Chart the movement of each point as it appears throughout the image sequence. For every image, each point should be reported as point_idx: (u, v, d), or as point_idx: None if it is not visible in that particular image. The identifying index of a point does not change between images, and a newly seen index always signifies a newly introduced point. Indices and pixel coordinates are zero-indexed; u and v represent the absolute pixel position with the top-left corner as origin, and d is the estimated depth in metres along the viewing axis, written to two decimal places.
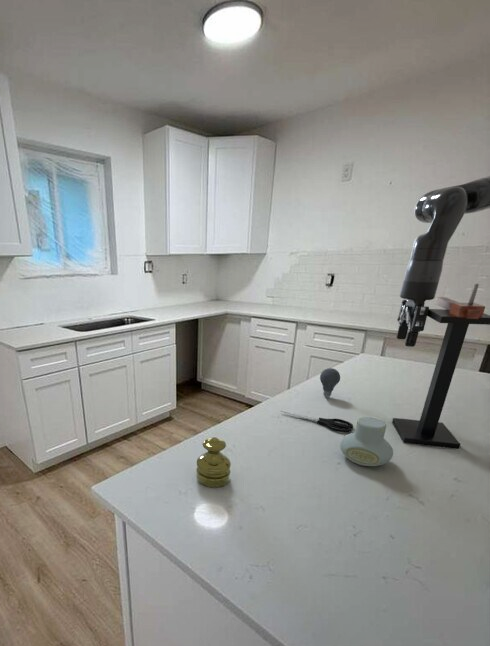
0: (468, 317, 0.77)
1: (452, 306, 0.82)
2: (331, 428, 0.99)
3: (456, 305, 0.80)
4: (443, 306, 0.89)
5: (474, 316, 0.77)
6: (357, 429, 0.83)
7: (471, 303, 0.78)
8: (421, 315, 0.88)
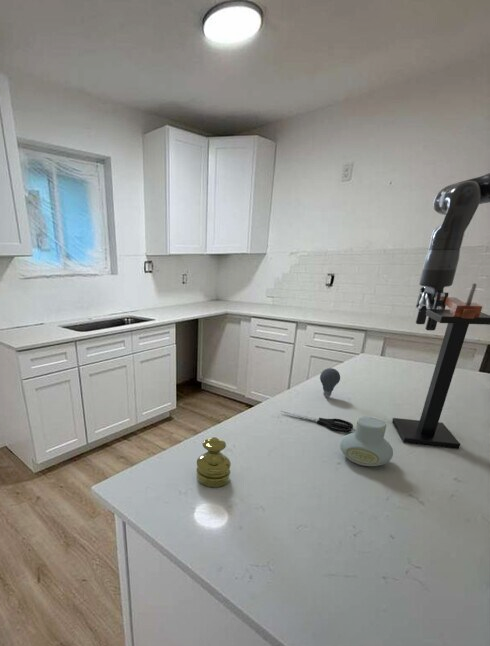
0: (463, 316, 0.78)
1: (452, 306, 0.82)
2: (331, 428, 0.99)
3: (454, 305, 0.81)
4: (449, 306, 0.89)
5: (469, 316, 0.77)
6: (357, 429, 0.83)
7: (469, 303, 0.79)
8: (441, 301, 0.95)
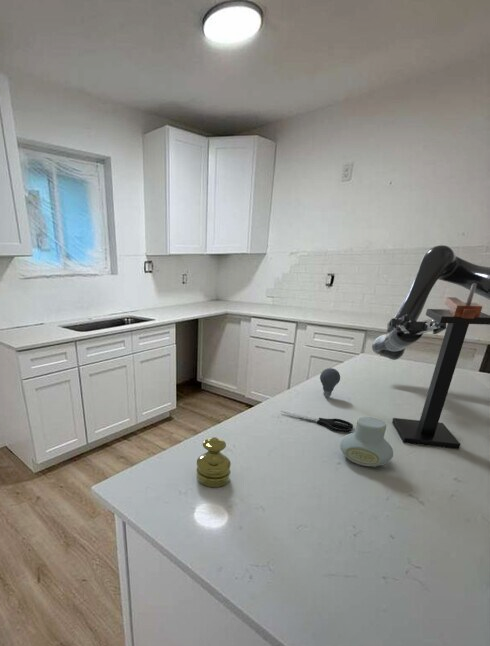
0: (463, 316, 0.78)
1: (452, 306, 0.82)
2: (331, 428, 0.99)
3: (454, 305, 0.81)
4: (449, 306, 0.89)
5: (469, 316, 0.77)
6: (357, 429, 0.83)
7: (469, 303, 0.79)
8: None
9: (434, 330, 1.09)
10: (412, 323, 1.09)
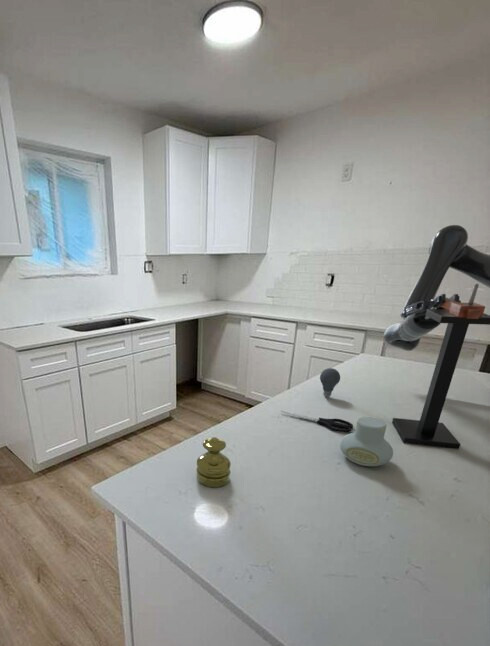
0: (468, 317, 0.77)
1: (452, 306, 0.82)
2: (331, 428, 0.99)
3: (456, 305, 0.80)
4: (443, 306, 0.89)
5: (474, 316, 0.77)
6: (357, 429, 0.83)
7: (471, 303, 0.78)
8: (413, 308, 0.97)
9: None
10: None
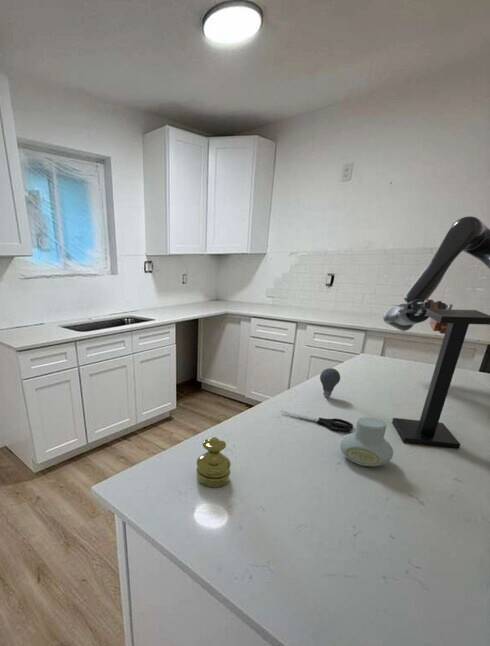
0: (441, 332, 0.95)
1: (431, 318, 0.99)
2: (331, 428, 0.99)
3: None
4: None
5: None
6: (357, 429, 0.83)
7: None
8: (404, 307, 1.13)
9: None
10: None
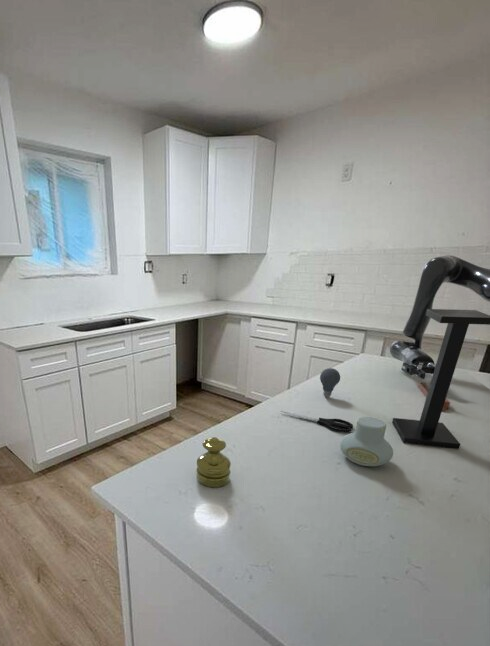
0: None
1: None
2: (331, 428, 0.99)
3: None
4: (423, 392, 1.21)
5: (442, 409, 1.09)
6: (357, 429, 0.83)
7: None
8: None
9: None
10: (423, 369, 1.23)
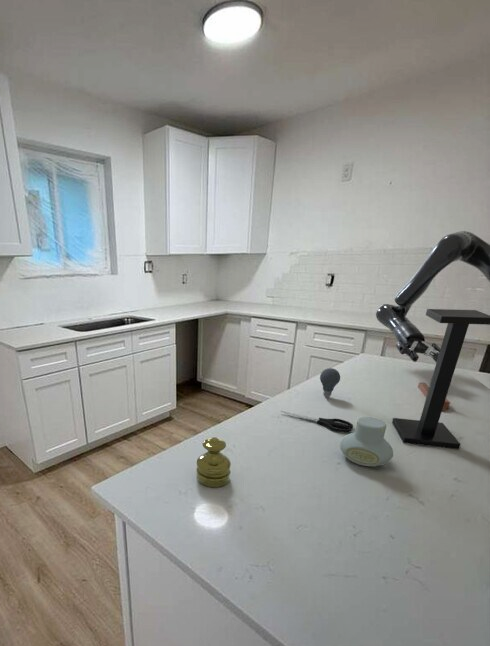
0: None
1: None
2: (331, 428, 0.99)
3: None
4: (423, 392, 1.21)
5: (442, 409, 1.09)
6: (357, 429, 0.83)
7: None
8: (399, 345, 1.31)
9: None
10: (417, 349, 1.29)
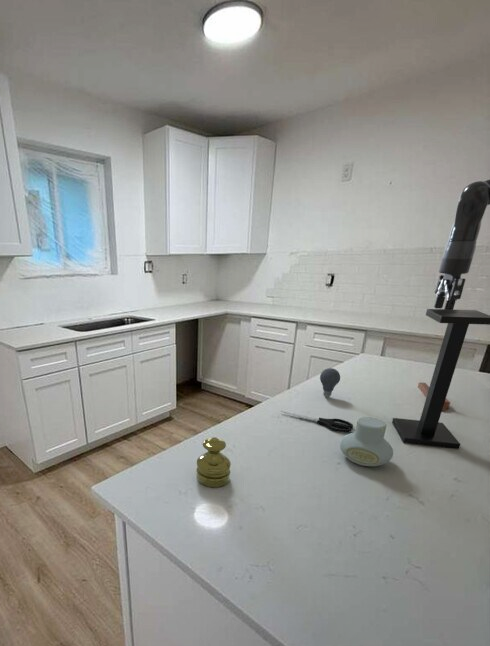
0: None
1: None
2: (331, 428, 0.99)
3: None
4: (423, 392, 1.21)
5: (442, 409, 1.09)
6: (357, 429, 0.83)
7: None
8: (458, 286, 1.09)
9: (441, 281, 1.20)
10: None
